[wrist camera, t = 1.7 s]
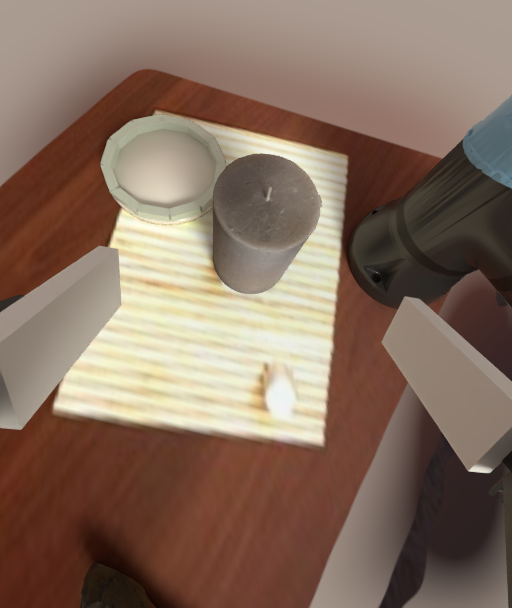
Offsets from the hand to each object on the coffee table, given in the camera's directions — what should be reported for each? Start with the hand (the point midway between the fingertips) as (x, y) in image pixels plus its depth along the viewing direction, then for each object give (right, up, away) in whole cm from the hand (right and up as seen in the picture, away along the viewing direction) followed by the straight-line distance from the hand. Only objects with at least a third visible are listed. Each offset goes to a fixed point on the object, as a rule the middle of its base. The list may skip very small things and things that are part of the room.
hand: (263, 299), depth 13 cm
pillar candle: (-1, +5, +25) cm, 25 cm away
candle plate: (-13, +18, +26) cm, 34 cm away
